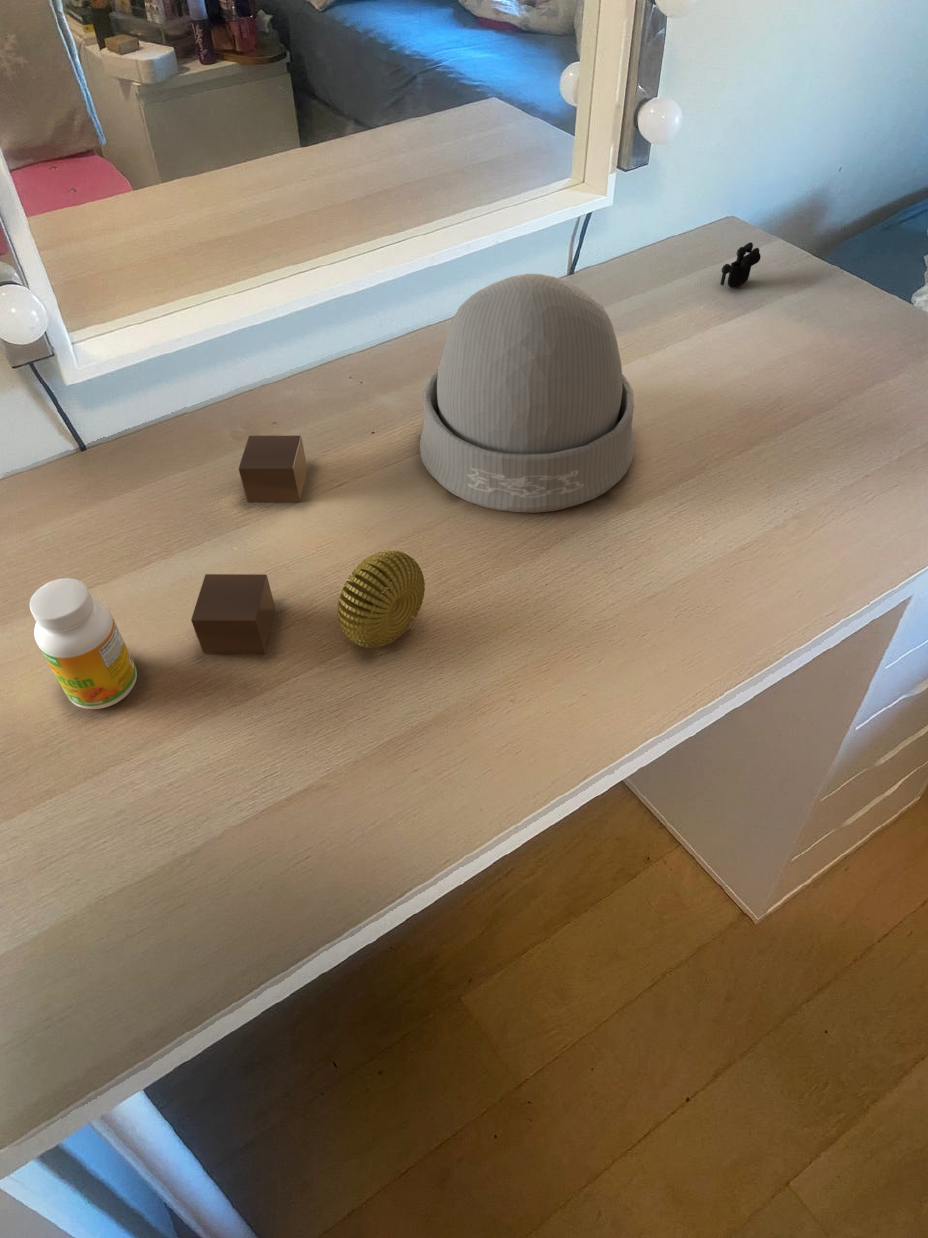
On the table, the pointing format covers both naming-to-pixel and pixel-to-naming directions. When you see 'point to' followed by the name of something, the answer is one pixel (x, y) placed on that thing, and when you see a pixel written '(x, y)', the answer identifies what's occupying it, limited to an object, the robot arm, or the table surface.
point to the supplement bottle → (82, 644)
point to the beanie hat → (529, 399)
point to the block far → (273, 468)
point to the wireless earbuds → (740, 266)
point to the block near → (234, 613)
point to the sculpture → (381, 599)
